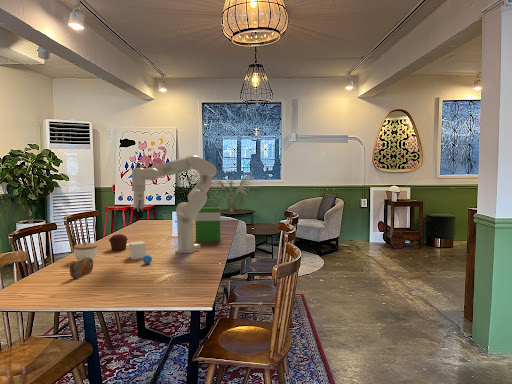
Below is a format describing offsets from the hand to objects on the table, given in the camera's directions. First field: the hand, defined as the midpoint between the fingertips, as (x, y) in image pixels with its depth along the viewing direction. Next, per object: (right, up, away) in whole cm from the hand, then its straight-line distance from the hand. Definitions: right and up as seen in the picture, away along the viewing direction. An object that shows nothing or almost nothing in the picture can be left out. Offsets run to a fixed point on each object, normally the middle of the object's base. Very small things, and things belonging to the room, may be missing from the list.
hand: (138, 217), depth 224 cm
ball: (+10, -23, -14) cm, 29 cm away
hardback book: (+36, -21, +52) cm, 66 cm away
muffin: (-20, -23, +22) cm, 38 cm away
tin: (-17, -27, -36) cm, 48 cm away
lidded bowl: (-29, -25, -6) cm, 39 cm away
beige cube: (-1, -24, +1) cm, 24 cm away
